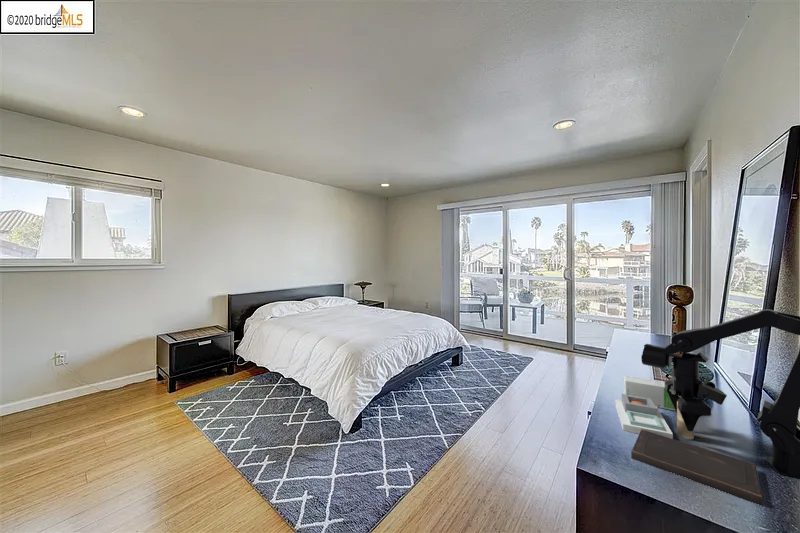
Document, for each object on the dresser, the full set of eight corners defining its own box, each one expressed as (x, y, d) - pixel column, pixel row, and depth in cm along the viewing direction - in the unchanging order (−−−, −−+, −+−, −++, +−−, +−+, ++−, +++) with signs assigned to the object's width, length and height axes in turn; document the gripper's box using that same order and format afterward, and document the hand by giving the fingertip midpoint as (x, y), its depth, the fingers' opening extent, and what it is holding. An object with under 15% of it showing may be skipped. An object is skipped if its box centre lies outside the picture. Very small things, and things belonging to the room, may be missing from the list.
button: (647, 410, 103) (647, 407, 103) (631, 407, 105) (631, 405, 105) (645, 405, 107) (645, 402, 107) (629, 402, 109) (629, 399, 109)
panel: (672, 440, 91) (672, 424, 91) (623, 430, 97) (623, 414, 97) (656, 411, 109) (656, 397, 108) (614, 404, 114) (614, 391, 114)
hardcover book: (641, 436, 94) (641, 429, 94) (755, 473, 78) (755, 464, 78) (631, 460, 83) (631, 451, 83) (762, 508, 67) (762, 498, 67)
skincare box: (680, 411, 108) (625, 402, 116) (675, 404, 114) (623, 396, 122) (679, 388, 108) (624, 380, 116) (675, 381, 114) (623, 375, 122)
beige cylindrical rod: (695, 441, 91) (696, 407, 91) (678, 437, 93) (679, 404, 93) (691, 434, 94) (691, 402, 94) (675, 431, 96) (675, 399, 96)
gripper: (737, 389, 81) (737, 448, 81) (709, 367, 97) (709, 416, 98) (682, 381, 87) (681, 437, 87) (664, 362, 103) (664, 409, 103)
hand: (685, 424), depth 93 cm, fingers open, 8 cm apart
